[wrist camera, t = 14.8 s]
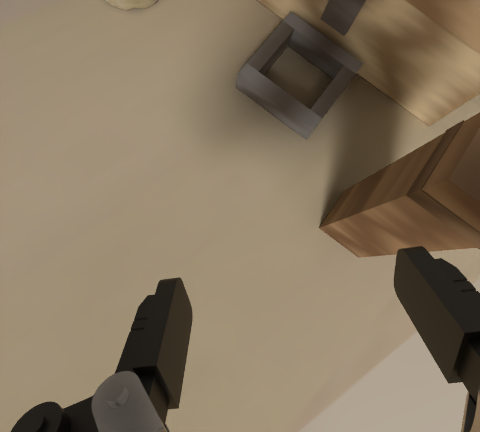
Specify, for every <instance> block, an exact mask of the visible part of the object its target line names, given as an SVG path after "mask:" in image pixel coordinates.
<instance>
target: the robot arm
mask: <svg viewBox="0 0 480 432" xmlns="http://www.w3.org/2000/svg"><path fill="white" fill-rule="evenodd" d="M394 288H395V292H396V294H397V297H398V298H399V300H400V302H401V304H402V305H403V307H404V309H405V310H406V312H407V314H408V315H409V317H410V319H411V321H412V322H413V324H414V326H415V327H416V329H417V331H418V332H419V334H420V336H421V338H422V339H423V341H424V343H425V344H426V346H427V348H428V349H429V351H430V353H431V354H432V356H433V358H434V360H435V361H436V363H437V365H438V366H439V368H440V370H441V371H442V373H443V375H444V377H445V378H446V380H447V382H448V383H457V382H463V383H464V385H465V387H466V388H467V390H468V393H467V397H466V404H465V409H464V416H463V422H462V429H461V432H480V293H479V292H478V291H476V289H475V288H474V287H473V285H472V284H471V283H470V282H469V281H467V279H466V277H465V276H464V275H463V274H462V273H461V272H460V271H459V270H458V269H457V268H456V267H455V266H453V265H452V264H450V263H448V262H447V261H445V260H443V259H442V258H440V259H434V258H433V257H432V256H431V255H430V253H429V252H428V251H427V250H426V249H425V248H424V247H423V246H417V247H410V248H402V249H399V250H398V251H397V257H396V265H395V273H394ZM134 320H135V321H134V322H133V324H132V327H131V332H130V333H129V335H128V338H127V341H126V344H125V347H124V349H123V352H122V355H121V358H120V361H119V364H118V366H117V369H116V372H115V374H113V375H112V376H110V377H109V378H107V379H106V380H105V381H104V382H103V383H102V384H101V385H100V386H99V387H98V389H97V390H96V392H95V394H94V395H93V396H92V397H90V398H87V399H85V400H83V401H80V402H78V403H76V404H73V405H71V406H69V407H66V408H64V409H62V408H61V407H60V406H59V405H58V404H57V403H55V402H45V403H42V404H39V405H37V406H35V407H33V408H32V409H30V410H29V411H28V412H27V413H25V414H24V415H23V416H22V417H21V418H20V419H19V420H18V422H17V423H16V424H15V426H14V427H13V429H12V430H11V432H170V431H169V429H168V427H167V425H166V423H165V422H166V416H167V411H168V409H176V408H179V403H180V396H181V390H182V383H183V377H184V371H185V364H186V358H187V351H188V345H189V339H190V332H191V326H192V307H191V304H190V301H189V298H188V295H187V293H186V290H185V287H184V284H183V282H182V279H181V278H172V279H164V280H160V281H159V283H158V286H157V289H156V293H155V295H148V296H147V297H146V298H145V300H144V301H143V302H142V303H141V305H140V306H139V307H138V310H137V313H136V316H135V319H134Z"/></svg>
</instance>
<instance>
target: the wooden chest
mask: <svg viewBox="0 0 480 432" xmlns="http://www.w3.org/2000/svg"><path fill="white" fill-rule="evenodd" d="M257 1H259V2H260V3H261V4H263V5H264V6H265V7H267V8H268V9H270V10H271V11H272V12H274V13H275V14H276V15H278V16H279V17H281V18H282V19H283V21H282V22H281V23H280V24H279V26H278V27H277V28H276V29H275V30H274V31H273V33H272V34H271V35H270V36H269V37H268V38H267V40H266V41H265V42H264V43H263V44H262V45H261V47H260V48H259V49H258V50H257V51H256V52H255V54H254V55H253V56H252V57H251V58H250V59H249V61H248V62H247V63H246V64H245V65H244V66H243V68H242V69H241V70H240V71H239V72H238V75H237V82H236V88H237V89H239V90H240V91H241V92H243V93H244V94H245V95H247V96H248V97H249V98H251V99H252V100H254V101H255V102H256V103H258V104H259V105H260V106H262V107H263V108H264V109H266V110H267V111H268V112H270V113H271V114H272V115H274V116H275V117H276V118H278V119H279V120H281V121H282V122H283V123H285V124H286V125H287V126H289V127H290V128H291V129H293V130H294V131H295V132H297V133H298V134H299V135H301V136H302V137H304V138H305V139H307V138H308V137H309V135H310V134H311V133H312V131H313V130H314V129H315V127H316V126H317V125H318V123H319V122H320V121H321V119H322V118H323V117H324V115H325V114H326V113H327V111H328V110H329V109H330V107H331V106H332V105H333V103H334V102H335V101H336V99H337V98H338V97H339V95H340V94H341V93H342V91H343V90H344V89H345V87H346V86H347V85H348V83H349V82H350V81H351V79H352V78H353V77H354V75H355V74H356V73H357V74H359V75H360V76H361V77H363V78H364V79H365V80H367V81H368V82H369V83H371V84H372V85H374V86H375V87H376V88H378V89H379V90H380V91H382V92H383V93H385V94H386V95H387V96H389V97H390V98H391V99H393V100H394V101H396V102H397V103H398V104H400V105H401V106H402V107H404V108H405V109H406V110H408V111H409V112H411V113H412V114H413V115H415V116H416V117H417V118H419V119H420V120H422V121H423V122H424V123H426V124H427V125H428V126H430V125H432V124H433V123H435V122H436V121H438V120H440V119H441V118H443V117H444V116H446V115H447V114H449V113H450V112H452V111H453V110H455V109H457V108H458V107H460V106H461V105H463V104H464V103H466V102H467V101H469V100H470V99H472V98H473V97H475V96H477V95H478V94H480V0H257ZM288 46H289V47H291V48H292V49H294V50H295V51H296V52H298V53H299V54H300V55H302V56H303V57H304V58H306V59H307V60H309V61H310V62H311V63H313V64H314V65H315V66H317V67H318V68H320V69H321V70H322V71H324V72H325V73H326V74H328V75H329V76H330V77H332V78H333V80H332V82H331V83H330V84H329V86H328V87H327V88H326V90H325V91H324V92H323V93H322V95H321V96H320V97H319V99H318V100H317V101H316V103H315V104H314V105H313V107H312V108H311V109H309V108H307V107H306V106H305V105H303V104H302V103H301V102H299V101H298V100H297V99H295V98H294V97H292V96H291V95H290V94H288V93H287V92H286V91H284V90H283V89H282V88H280V87H279V86H278V85H276V84H275V83H273V82H272V81H271V80H269V79H268V78H267V77H265V76H264V74H265V73H266V72H267V71H268V69H269V68H270V67H271V66H272V65H273V63H274V62H275V61H276V60H277V59H278V57H279V56H280V55H281V54H282V53H283V51H284V50H285V49H286V48H287V47H288Z"/></svg>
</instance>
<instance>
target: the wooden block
mask: <svg viewBox="0 0 480 432" xmlns="http://www.w3.org/2000/svg"><path fill="white" fill-rule="evenodd" d="M320 229H321V230H322V231H324V232H325V233H326V234H328V235H329V236H330V237H332V238H333V239H334V240H336V241H337V242H339V243H340V244H341V245H343V246H344V247H345V248H347V249H348V250H349V251H351V252H352V253H353V254H355V255H356V256H357V257H369V256H381V255H393V254H397V251H398V250H399V249H402V248H410V247H417V246H423V247H424V248H425V249H426V250H427V251H428V252H430V251H442V250H454V249H466V248H478V249H480V113H478V114H476V115H475V116H473V117H471V118H469V119H468V120H466V121H464V120H463V121H461V122H460V123H458V124H456V125H455V126H453V127H451V128H449V129H448V130H447V131H446V132H445V133H444V134H442V135H440V136H438V137H437V138H435V139H433V140H431V141H430V142H428V143H426V144H425V145H423V146H421V147H419V148H418V149H416V150H414V151H412V152H411V153H409V154H407V155H406V156H404V157H402V158H400V159H399V160H397V161H395V162H393V163H392V164H390V165H388V166H387V167H385V168H383V169H381V170H380V171H378V172H376V173H374V174H373V175H371V176H369V177H368V178H366V179H364V180H362V181H361V182H359V183H357V184H355V185H354V186H352V187H350V188H349V189H347V190H345V191H344V192H343V194H342V195H341V197H340V198H339V200H338V201H337V203H336V204H335V206H334V207H333V209H332V210H331V211H330V213H329V214H328V216H327V217H326V219H325V220H324V222H323V223H322V225H321V226H320Z"/></svg>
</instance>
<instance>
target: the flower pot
mask: <svg viewBox="0 0 480 432" xmlns="http://www.w3.org/2000/svg"><path fill="white" fill-rule="evenodd" d="M105 1H107V2H108V3H109V4H111V5H113V6H115V7H118V8H121V9H125V10H129V9H132V8H147V7H150V6H151V5H153V4H154V3H156V2H157V1H158V0H105Z"/></svg>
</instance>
